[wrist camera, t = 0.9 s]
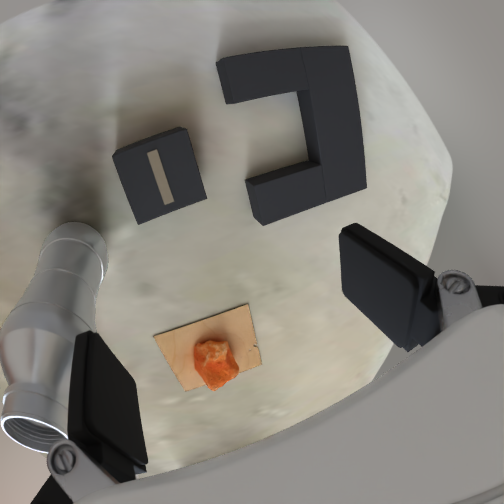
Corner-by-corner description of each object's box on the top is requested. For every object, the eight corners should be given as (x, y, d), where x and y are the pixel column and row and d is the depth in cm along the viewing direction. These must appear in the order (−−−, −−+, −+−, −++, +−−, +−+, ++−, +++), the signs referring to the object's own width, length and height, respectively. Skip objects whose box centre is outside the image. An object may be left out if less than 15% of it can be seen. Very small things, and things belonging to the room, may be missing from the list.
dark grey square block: (116, 150, 22) (111, 156, 19) (180, 126, 24) (187, 128, 20) (138, 210, 26) (138, 225, 22) (198, 187, 27) (207, 199, 23)
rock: (247, 302, 35) (261, 324, 32) (261, 363, 41) (273, 384, 38) (153, 336, 32) (157, 361, 29) (185, 391, 38) (192, 414, 35)
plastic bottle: (41, 219, 22) (-52, 389, 6) (106, 210, 24) (71, 394, 8) (55, 279, 25) (15, 461, 8) (115, 271, 27) (120, 464, 11)
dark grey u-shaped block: (215, 62, 22) (222, 57, 20) (333, 48, 24) (348, 45, 22) (253, 217, 30) (263, 226, 28) (353, 182, 33) (367, 188, 31)
